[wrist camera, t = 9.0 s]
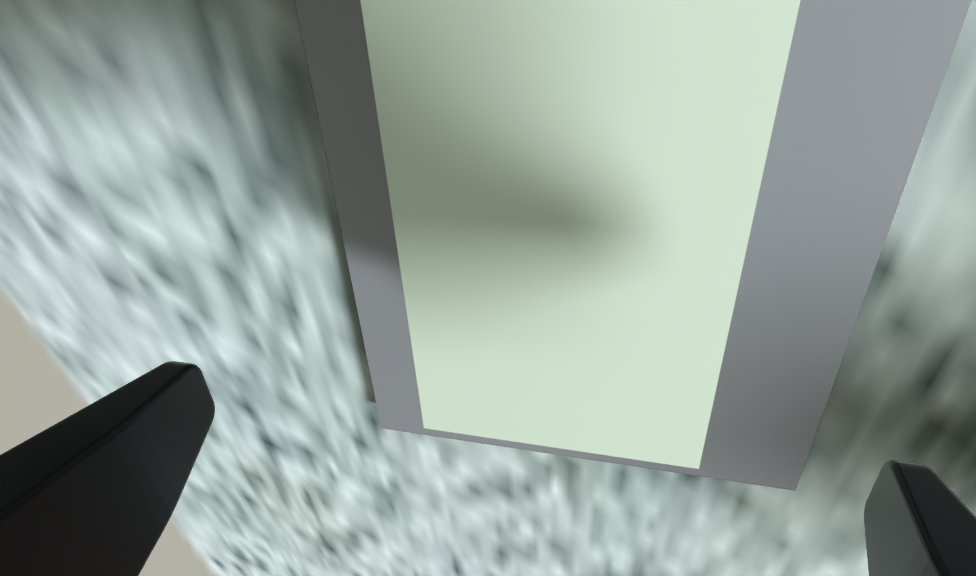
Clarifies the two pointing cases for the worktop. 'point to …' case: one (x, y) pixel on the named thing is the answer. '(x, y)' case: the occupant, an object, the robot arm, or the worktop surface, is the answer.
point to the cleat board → (773, 237)
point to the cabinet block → (575, 207)
